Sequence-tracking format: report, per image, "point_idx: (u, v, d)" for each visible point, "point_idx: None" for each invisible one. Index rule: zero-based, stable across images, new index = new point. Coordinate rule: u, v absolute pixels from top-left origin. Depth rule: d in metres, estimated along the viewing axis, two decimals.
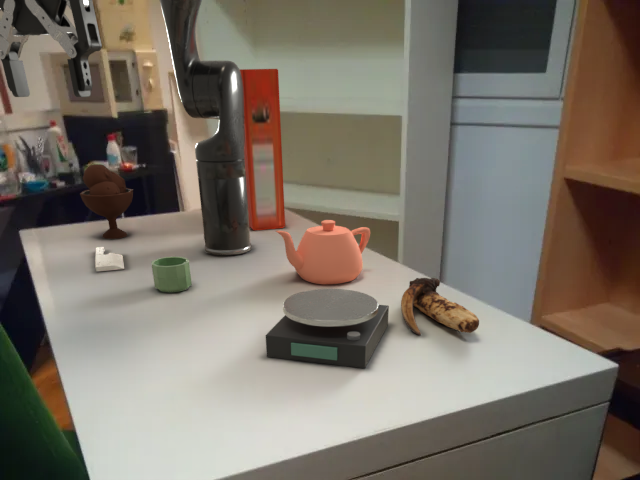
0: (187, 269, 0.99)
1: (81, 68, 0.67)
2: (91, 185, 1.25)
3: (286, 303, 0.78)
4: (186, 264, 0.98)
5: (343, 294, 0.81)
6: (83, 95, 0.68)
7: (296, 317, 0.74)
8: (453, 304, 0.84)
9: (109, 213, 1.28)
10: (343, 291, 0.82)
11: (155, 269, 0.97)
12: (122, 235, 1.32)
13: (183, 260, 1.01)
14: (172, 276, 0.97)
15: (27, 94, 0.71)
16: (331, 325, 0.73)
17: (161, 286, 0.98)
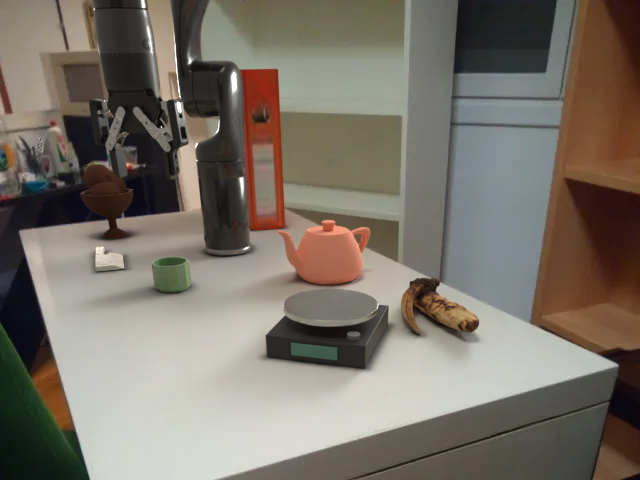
0: (187, 269, 0.99)
1: (173, 159, 0.86)
2: (91, 185, 1.25)
3: (286, 303, 0.78)
4: (186, 264, 0.98)
5: (343, 294, 0.81)
6: (173, 178, 0.88)
7: (296, 317, 0.74)
8: (453, 304, 0.84)
9: (109, 213, 1.28)
10: (343, 291, 0.82)
11: (155, 269, 0.97)
12: (122, 235, 1.32)
13: (183, 260, 1.01)
14: (172, 276, 0.97)
15: (126, 174, 0.91)
16: (331, 325, 0.73)
17: (161, 286, 0.98)
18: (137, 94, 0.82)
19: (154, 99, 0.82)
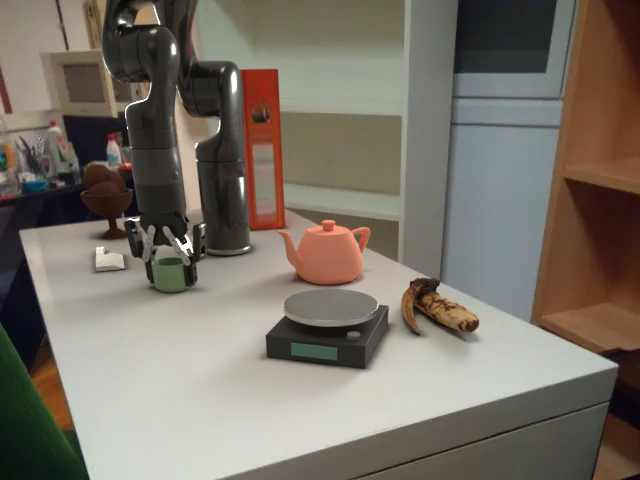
0: None
1: (192, 271, 0.98)
2: (91, 185, 1.25)
3: (286, 303, 0.78)
4: None
5: (343, 294, 0.81)
6: (191, 285, 0.99)
7: (296, 317, 0.74)
8: (453, 304, 0.84)
9: (109, 213, 1.28)
10: (343, 291, 0.82)
11: (155, 269, 0.97)
12: (122, 235, 1.32)
13: None
14: (172, 276, 0.97)
15: None
16: (331, 325, 0.73)
17: (161, 286, 0.98)
18: (166, 215, 0.94)
19: (182, 220, 0.93)
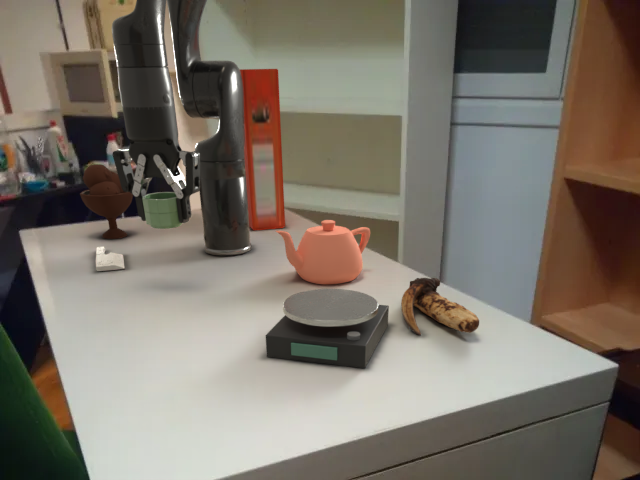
0: None
1: (185, 204, 0.93)
2: (91, 185, 1.25)
3: (286, 303, 0.78)
4: None
5: (343, 294, 0.81)
6: (185, 221, 0.94)
7: (296, 317, 0.74)
8: (453, 304, 0.84)
9: (109, 213, 1.28)
10: (343, 291, 0.82)
11: (146, 203, 0.92)
12: (122, 235, 1.32)
13: None
14: (164, 210, 0.92)
15: None
16: (331, 325, 0.73)
17: (153, 222, 0.93)
18: (157, 143, 0.88)
19: (174, 148, 0.88)
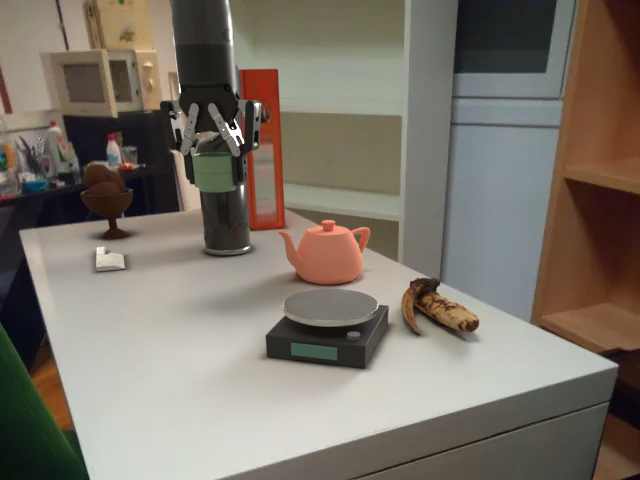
0: None
1: (242, 164, 0.80)
2: (91, 185, 1.25)
3: (286, 303, 0.78)
4: None
5: (343, 294, 0.81)
6: (240, 184, 0.82)
7: (296, 317, 0.74)
8: (453, 304, 0.84)
9: (109, 213, 1.28)
10: (343, 291, 0.82)
11: (197, 161, 0.80)
12: (122, 235, 1.32)
13: (229, 155, 0.83)
14: (217, 170, 0.79)
15: None
16: (331, 325, 0.73)
17: (203, 183, 0.80)
18: (213, 89, 0.76)
19: (232, 96, 0.76)
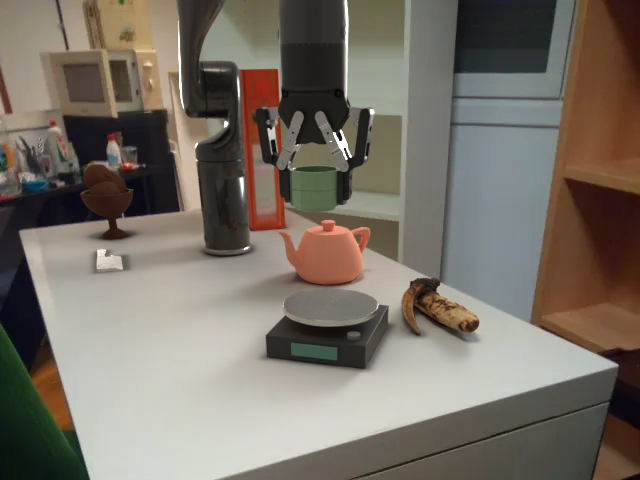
0: None
1: (348, 180, 0.70)
2: (91, 185, 1.25)
3: (286, 303, 0.78)
4: None
5: (343, 294, 0.81)
6: (344, 203, 0.72)
7: (296, 317, 0.74)
8: (453, 304, 0.84)
9: (109, 213, 1.28)
10: (343, 291, 0.82)
11: (298, 177, 0.69)
12: (122, 235, 1.32)
13: (330, 169, 0.73)
14: (321, 187, 0.69)
15: None
16: (331, 325, 0.73)
17: (304, 202, 0.70)
18: (321, 95, 0.66)
19: (344, 103, 0.66)
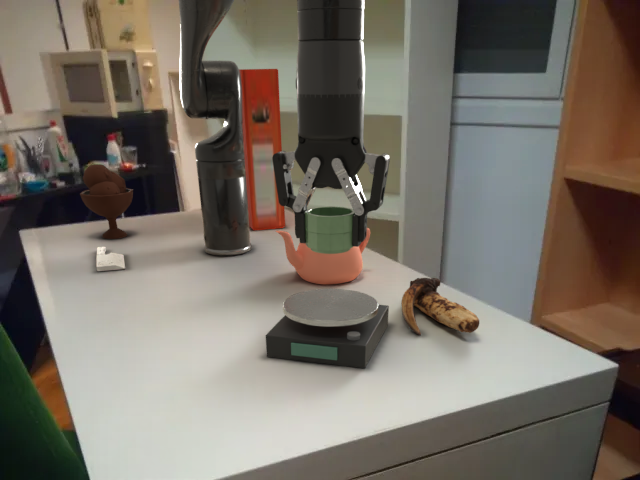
0: None
1: (363, 223, 0.71)
2: (91, 185, 1.25)
3: (286, 303, 0.78)
4: (354, 214, 0.71)
5: (343, 294, 0.81)
6: (358, 245, 0.73)
7: (296, 317, 0.74)
8: (453, 304, 0.84)
9: (109, 213, 1.28)
10: (343, 291, 0.82)
11: (314, 221, 0.71)
12: (122, 235, 1.32)
13: (344, 211, 0.74)
14: (337, 230, 0.71)
15: None
16: (331, 325, 0.73)
17: (320, 245, 0.72)
18: (338, 142, 0.67)
19: (360, 150, 0.67)
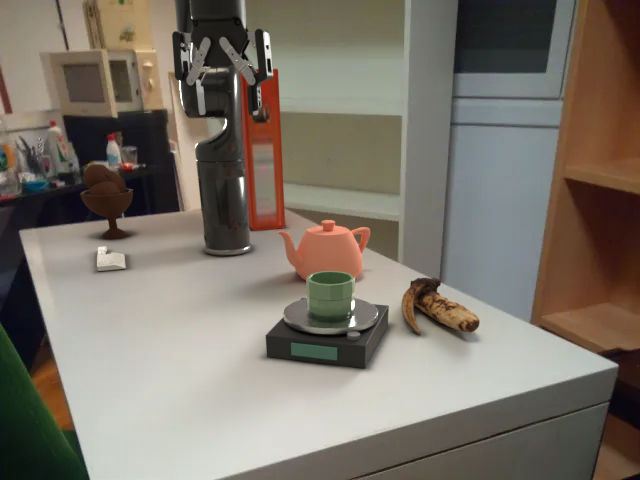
0: (353, 288, 0.76)
1: (256, 93, 0.84)
2: (91, 185, 1.25)
3: (286, 310, 0.79)
4: (353, 281, 0.76)
5: None
6: (254, 114, 0.86)
7: (296, 325, 0.75)
8: (454, 304, 0.84)
9: (109, 213, 1.28)
10: None
11: (315, 288, 0.75)
12: (122, 235, 1.32)
13: (344, 276, 0.78)
14: (337, 297, 0.75)
15: (204, 112, 0.89)
16: (331, 333, 0.74)
17: (320, 310, 0.76)
18: (224, 24, 0.80)
19: (241, 29, 0.80)
